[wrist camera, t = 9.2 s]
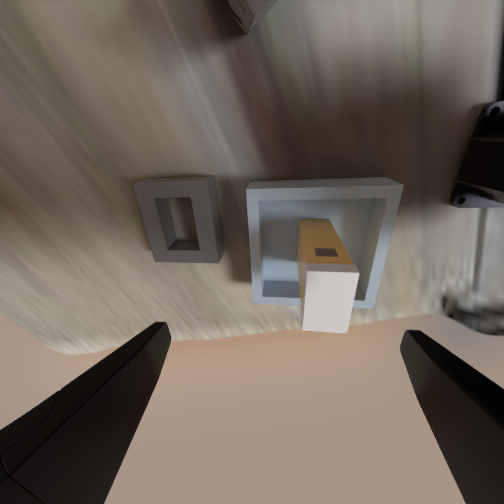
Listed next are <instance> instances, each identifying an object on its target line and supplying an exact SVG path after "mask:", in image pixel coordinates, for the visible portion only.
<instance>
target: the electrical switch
mask: <svg viewBox="0 0 504 504" xmlns="http://www.w3.org/2000/svg"><path fill="white" fill-rule="evenodd" d="M277 1H278V0H228V2H229V4H230V6H231V8H232V9H233V11H234V12H235V13H236V15H237V16H238V18H239V20H240V21H241V23H242V25H243V26H244V28H245V30H246V31H247V33H249V31H250V30H251V29H252V28H253V27H254V26H255V25H256V24H257V23H258V21H259V20H260V19H261V18H262V17H263V16H264V15H265V14H266V13H267V12H268V10H269V9H270V8H271V7H272V6H273V5H274V4H275V3H276V2H277Z"/></svg>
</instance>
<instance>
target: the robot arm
mask: <svg viewBox="0 0 504 504" xmlns="http://www.w3.org/2000/svg"><path fill="white" fill-rule="evenodd" d="M493 108H494V109H495V112H494V113H493V115H490V111H491V110H492V109H493ZM460 198H462V200H461V201H460V202H459V203H457V201H458V199H460ZM450 204H451V205H452V206H454V207H457V208H482V207H504V101H501V102H493V103H489V104H488V105H486V106H485V107H484V108H483V109H482V111H481V113H480V116H479V119H478V122H477V125H476V128H475V131H474V133H473V136H472V139H471V141H470V142H469V144H468V147H467V150H466V153H465V155H464V158H463V161H462V164H461V167H460V170H459V173H458V176H457V182H456V185H455V187H454V190H453V193H452V196H451V199H450ZM170 343H171V334H170V331H169V328H168V325H167V323H166V322H155V323H153V324H152V325H150V326H149V327H148V328H146V329H145V330H143V331H142V332H140V333H139V334H138V335H136V336H135V337H133V338H132V339H131V340H129V341H128V342H126V343H125V344H124V345H122V346H121V347H119V348H118V349H117V350H115V351H114V352H112V353H111V354H110V355H108V356H107V357H105V358H104V359H102V360H101V361H100V362H98V363H97V364H95V365H94V366H93V367H91V368H90V369H88V370H87V371H85V372H84V373H83V374H81V375H80V376H78V377H77V378H76V379H74V380H73V381H71V382H70V383H69V384H67V385H66V386H64V387H63V388H62V389H61V390H59V391H57V392H56V393H54V394H53V395H52V396H50V397H49V398H47V399H46V400H44V401H43V402H42V403H40V404H39V405H37V406H36V407H34V408H33V409H31V410H30V411H28V412H27V413H26V414H24V415H22V416H21V417H19V418H18V419H16V420H15V421H13V422H12V423H11V424H9V425H7V426H6V427H4V428H3V429H1V430H0V504H104V502H105V500H106V498H107V495H108V493H109V491H110V489H111V486H112V484H113V482H114V480H115V477H116V475H117V473H118V470H119V468H120V466H121V464H122V461H123V459H124V457H125V455H126V452H127V450H128V448H129V446H130V443H131V441H132V439H133V436H134V434H135V432H136V430H137V427H138V425H139V423H140V420H141V418H142V416H143V414H144V411H145V409H146V407H147V404H148V402H149V400H150V397H151V395H152V393H153V391H154V389H155V386H156V384H157V381H158V379H159V376H160V373H161V370H162V367H163V364H164V361H165V358H166V355H167V352H168V349H169V346H170ZM400 351H401V354H402V357H403V360H404V363H405V366H406V368H407V371H408V374H409V377H410V380H411V383H412V386H413V388H414V392H415V394H416V397H417V399H418V401H419V404H420V406H421V408H422V410H423V412H424V414H425V417H426V419H427V421H428V423H429V425H430V427H431V430H432V432H433V434H434V436H435V438H436V440H437V443H438V445H439V447H440V449H441V451H442V453H443V456H444V458H445V460H446V462H447V464H448V466H449V468H450V470H451V473H452V475H453V477H454V479H455V481H456V483H457V485H458V488H459V490H460V492H461V494H462V496H463V499H464V501H465V503H466V504H504V389H503V388H501V387H500V386H499V385H497V384H496V383H494V382H493V381H492V380H490V379H489V378H487V377H486V376H484V375H483V374H481V373H480V372H478V371H477V370H476V369H474V368H473V367H471V366H470V365H469V364H467V363H466V362H464V361H463V360H462V359H460V358H459V357H457V356H456V355H454V354H453V353H452V352H450V351H449V350H447V349H446V348H445V347H443V346H442V345H440V344H439V343H437V342H436V341H435V340H433V339H432V338H430V337H429V336H427V335H426V334H424V333H423V332H422V331H420V330H406V331H405V332H404V336H403V338H402V342H401V345H400Z"/></svg>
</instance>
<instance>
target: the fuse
mask: <svg viewBox="0 0 504 504" xmlns="http://www.w3.org/2000/svg"><path fill="white" fill-rule="evenodd" d="M297 269H298V279H299V290H300V301H301V312H302V319H301V322H302V330H304V331H305V330H306V331H319V332H334V333H347V330H348V326H349V321H350V316H351V312H352V307H353V302H354V297H355V293H356V288H357V283H358V279H359V274H360V273H359V271H358V269H357V267H356V265H354V264H353V262H352V261H351V259H350V257H349V255H348V253H347V251H346V249H345V247H344V245H343V243H342V242H341V240H340V238H339V236H338V234H337V232H336V230H335V228H334V226H333V224H332V223H331V221H330V219H299V234H298V251H297Z"/></svg>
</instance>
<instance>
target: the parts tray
mask: <svg viewBox="0 0 504 504" xmlns="http://www.w3.org/2000/svg"><path fill="white" fill-rule="evenodd" d="M403 188H404V185H403V184H401V183H399V182H396V181H394V180H391V179H389V178H387V177H366V178H335V179H304V180H273V181H251V183H250V184H249V186H248V187H247V188H246V198H247V213H248V228H249V244H250V259H251V275H252V290H253V304H276V305H299V306H301V301H300V290H299V279H298V269H297V251H298V234H299V219H330V221H331V223H332V224H333V226H334V228H335V230H336V232H337V234H338V236H339V238H340V240H341V242H342V243H343V245H344V247H345V249H346V251H347V253H348V255H349V257H350V259H351V261H352V262H353V264H354V265H356V267H357V269H358V271H359V273H360V274H359V279H358V283H357V288H356V293H355V297H354V302H353V307H352V308H367V309H373V308H374V304H375V300H376V296H377V292H378V288H379V284H380V280H381V276H382V272H383V268H384V264H385V260H386V256H387V252H388V248H389V244H390V240H391V236H392V232H393V228H394V224H395V220H396V216H397V212H398V208H399V204H400V200H401V196H402V192H403Z"/></svg>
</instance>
